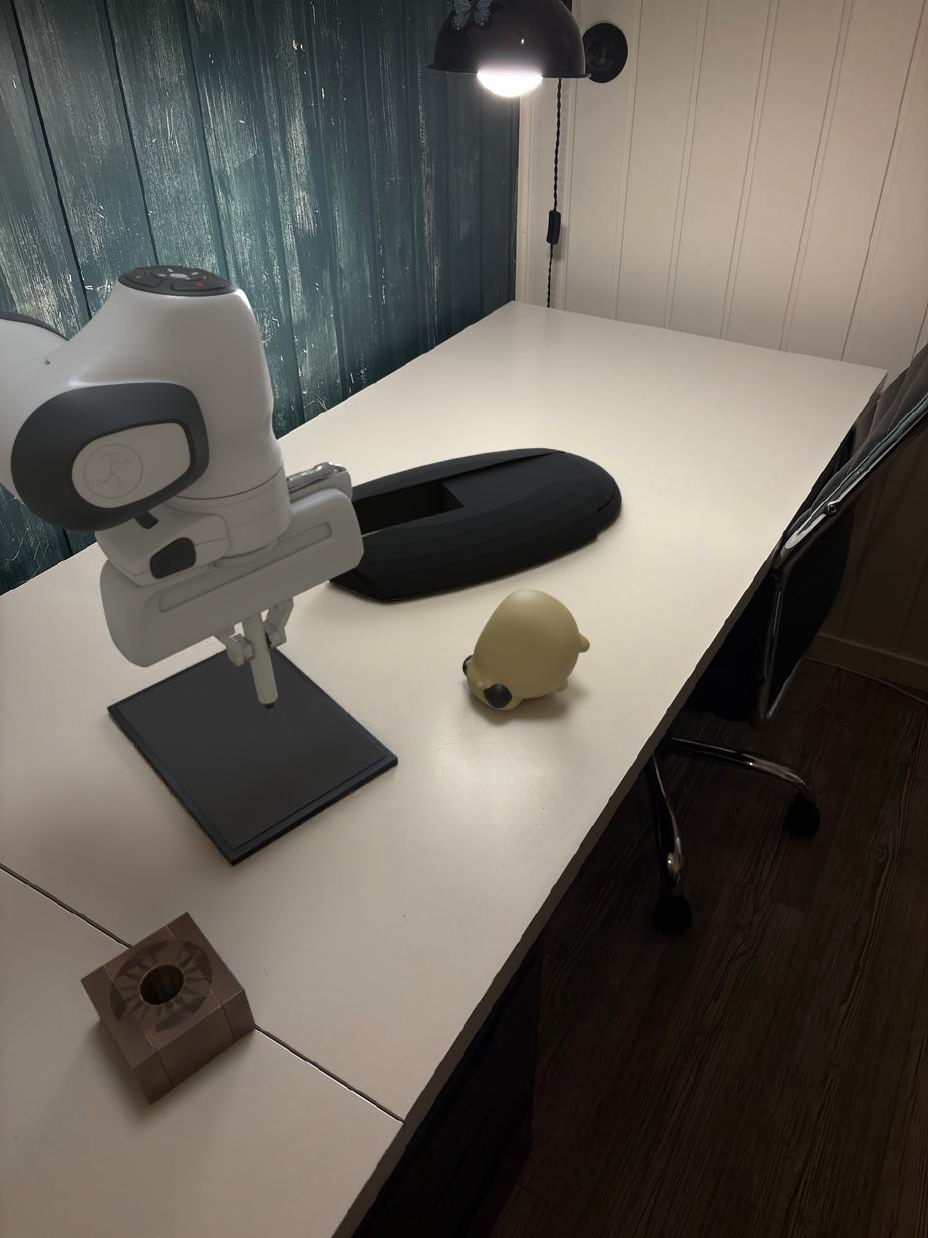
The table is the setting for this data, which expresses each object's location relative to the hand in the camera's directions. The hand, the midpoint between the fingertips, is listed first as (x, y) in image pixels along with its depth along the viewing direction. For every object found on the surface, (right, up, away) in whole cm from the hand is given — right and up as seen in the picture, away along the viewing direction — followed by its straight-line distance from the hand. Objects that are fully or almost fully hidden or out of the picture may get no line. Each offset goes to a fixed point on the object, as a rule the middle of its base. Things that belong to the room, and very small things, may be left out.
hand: (257, 651), depth 73 cm
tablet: (-4, -8, +13) cm, 16 cm away
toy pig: (+22, -4, +18) cm, 29 cm away
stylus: (0, -5, +4) cm, 6 cm away
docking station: (+17, +15, +41) cm, 47 cm away
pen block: (-4, -26, -9) cm, 28 cm away
